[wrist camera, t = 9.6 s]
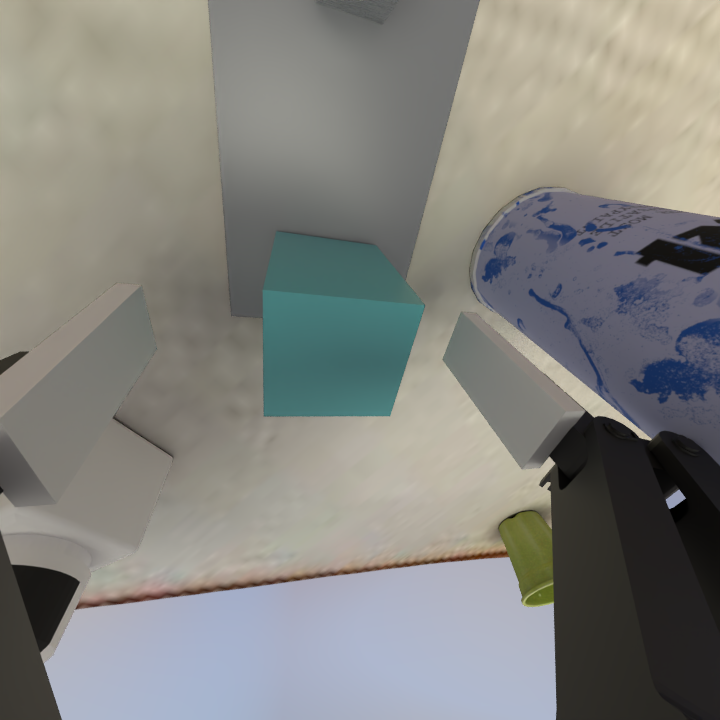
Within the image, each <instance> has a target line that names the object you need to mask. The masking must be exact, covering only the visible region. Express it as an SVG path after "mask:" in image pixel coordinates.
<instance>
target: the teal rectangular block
mask: <svg viewBox="0 0 720 720" xmlns="http://www.w3.org/2000/svg"><path fill="white" fill-rule="evenodd" d="M424 308H425V304H424V303H423V302H422V301H421V300H420V298H419V297H418V296H417V295H416V293H415V292H414V291H413V290H412V289H411V287H410V286H409V285H408V284H407V282H406V281H405V280H404V279H403V278H402V276H401V275H400V274H399V273H398V271H397V270H396V269H395V268H394V267H393V265H392V264H391V263H390V262H389V260H388V259H387V258H386V257H385V256H384V254H383V253H382V252H381V251H380V249H379V248H378V247H377V246H376V245H370V244H363V243H356V242H349V241H342V240H335V239H328V238H321V237H314V236H307V235H300V234H293V233H286V232H279V231H276V234H275V239H274V243H273V247H272V252H271V256H270V261H269V265H268V269H267V274H266V278H265V282H264V287H263V388H264V416H390V414H391V411H392V408H393V405H394V402H395V399H396V396H397V392H398V389H399V386H400V383H401V380H402V377H403V374H404V371H405V367H406V364H407V361H408V358H409V355H410V352H411V349H412V345H413V342H414V339H415V336H416V333H417V330H418V327H419V323H420V320H421V317H422V314H423V311H424Z"/></svg>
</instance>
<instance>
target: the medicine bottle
mask: <svg viewBox="0 0 720 720" xmlns="http://www.w3.org/2000/svg"><path fill="white" fill-rule="evenodd" d="M172 462H173V458H172V457H171V456H170V455H168V454H167V453H165V452H164V451H162V450H161V449H159V448H158V447H156V446H155V445H153V444H152V443H150V442H148V441H147V440H145V439H144V438H142V437H141V436H139V435H138V434H136V433H135V432H133V431H131V430H130V429H128V428H127V427H125V426H124V425H122V424H121V423H119V422H118V421H116V420H115V419H113V418H112V419H111V421H110V423H109V424H108V426H107V427H106V429H105V430H104V432H103V433H102V435H101V436H100V438H99V440H98V441H97V443H96V444H95V446H94V447H93V449H92V450H91V452H90V453H89V455H88V456H87V458H86V460H85V461H84V463H83V464H82V466H81V467H80V469H79V470H78V472H77V473H76V475H75V477H74V478H73V480H72V481H71V483H70V484H69V486H68V487H67V489H66V490H65V492H64V494H63V495H62V497H61V498H60V500H59V501H58V503H57V504H52V505H39V506H25V507H14V505H13V504H12V503H11V502H10V501H9V499H8V498H7V497H6V496H5V495H4V494H3V492H2V493H1V495H0V531H1V534H2V537H3V540H4V543H5V546H6V549H7V553H8V556H9V559H10V562H11V565H12V568H13V571H14V574H15V577H16V580H17V583H18V586H19V589H20V593H21V596H22V599H23V602H24V605H25V608H26V611H27V614H28V617H29V620H30V623H31V626H32V630H33V633H34V636H35V639H36V642H37V645H38V648H39V651H40V654H41V657H42V660H43V663H45V662H46V661H47V660H48V659H50V658H51V657H52V656H53V654H54V652H55V650H56V648H57V646H58V644H59V642H60V640H61V638H62V635H63V633H64V631H65V629H66V627H67V625H68V623H69V621H70V619H71V617H72V614H73V612H74V610H75V608H76V606H77V604H78V602H79V600H80V598H81V596H82V594H83V592H84V589H85V587H86V585H87V583H88V581H89V579H90V577H91V572H92V571H95V570H97V569H99V568H102V567H104V566H106V565H108V564H111V563H113V562H115V561H118V560H120V559H122V558H124V557H127V556H129V555H131V554H133V553H135V552H136V551H137V550H138V548H139V546H140V544H141V541H142V539H143V536H144V533H145V531H146V528H147V526H148V523H149V521H150V518H151V516H152V513H153V510H154V508H155V505H156V503H157V500H158V498H159V495H160V492H161V490H162V487H163V485H164V482H165V480H166V477H167V475H168V472H169V469H170V467H171V464H172Z"/></svg>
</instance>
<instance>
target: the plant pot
mask: <svg viewBox="0 0 720 720" xmlns="http://www.w3.org/2000/svg"><path fill="white" fill-rule="evenodd" d="M499 531H500V534H501V537H502V539H503V542H504V544H505V547H506V549H507V552H508V555H509V557H510V560H511V562H512V565H513V568H514V570H515V573H516V576H517V578H518V581H519V588H520V591H521V594H522V600H521V601H522V604H523V605H524V606H527V607H536V606H543V605H548V604H551V603H554V590H553V553H552V529H551V528H550V527H549V526H548V525H547V523H546V522H545V521H544V520H543V518H542V517H541V516H540V515H539V514H538V513H537V512H534V511H527V512H521V513H518V514H517V515H516V516H515V517H514V518H511V519H506V520H504V521H503V522H502V523H501V525H500V526H499Z"/></svg>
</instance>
